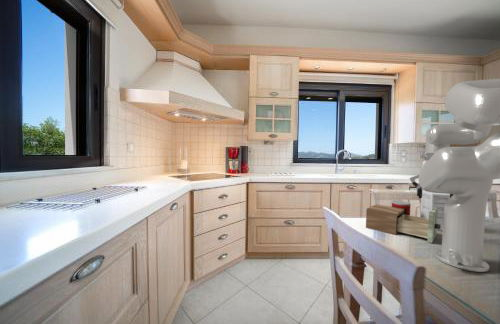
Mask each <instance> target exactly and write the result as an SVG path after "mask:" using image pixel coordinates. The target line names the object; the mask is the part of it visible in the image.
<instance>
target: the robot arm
mask: <svg viewBox="0 0 500 324" xmlns="http://www.w3.org/2000/svg"><path fill="white" fill-rule="evenodd" d="M444 107H445V109H446V111H447V112H448V113H449V114H450V115H452V116H453V120H454V122H455V123H448V124H446V123H445V124H443V123H441V124H440V123H439V124H435V125H433V126H431V127H430V128H428V129H426V132H425V151H424V154H421V155H420V159H423V161H422V162H421V166H420V173H419V174H417V175H414V176H412V177H410V178H409V180H410V182H411V183H412V185H413V186H414V187H415V188H416V196H417V197H418V199H421V198H422V191H428V192H432V193H445V194H450V199H449V200H448V201H447V202H446V204H445V206H444V217H443V231H442V234H441V235H442V236H441V249H439V250H436V251H435V252H434V255H435V258H436V259H438V260H439V261H441V262H443V263H444V264H447V265H449V266H450V267H451V266H452V267H454V268H458V269H460V270H465V271H468V272H477V273H485V272H489V270H490V265H489V264H488V263H487V262H486V261H485V260H483V256H484V243H485V242H484V241H485V239H484V238H485V226H486V225H485V224H486V214H487V211H486V210H487V205H488V199H489V195H490V192H491V190H492V188H493V187H492V186H493V181H494V180H497V179H499V178H500V131H498V132H496V133H494V134H492V135H490V136H489V137H488V135H489V134H490V131H491V130H492V127H494V126H500V78H491V79H478V80H467V81H466V80H465V81H462V82H458V83H456V84H455V85H454V86H451V88H450V89H449V90H448V92H447V94H446V96H445V99H444ZM486 137H488V138H486ZM485 138H486V140H484V142H482V143H481V144H479V145H475V146H451V145H473V144H475V143H478V142H480V141H481V140H483V139H485ZM417 179H418V183H417V182H416V180H417Z"/></svg>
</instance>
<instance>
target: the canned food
mask: <svg viewBox="0 0 500 324" xmlns="http://www.w3.org/2000/svg"><path fill="white" fill-rule="evenodd" d="M391 207H396V208H402V209H404V215H410V216H411V203H410V201H409V202H408V201H404V200H396V199H395V200H392V201H391Z"/></svg>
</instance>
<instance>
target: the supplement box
mask: <svg viewBox="0 0 500 324" xmlns="http://www.w3.org/2000/svg"><path fill="white" fill-rule="evenodd" d="M449 199H450V194H445V193H432V192H428V191H425V190H422V198H420V217H421V218H426V219H429V212H430V211H431V210H432V209H433V207H437V208H438V216H437V224H440V229H437V231H442V232H443V217H444V206H445V204H446V202H447V201H448V200H449Z"/></svg>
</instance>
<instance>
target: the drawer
mask: <svg viewBox="0 0 500 324" xmlns="http://www.w3.org/2000/svg"><path fill="white" fill-rule="evenodd" d="M437 216H438V208H437V207H433V209H432V210H431V211H430V212H429V219H426V218H421V217H419V216H415V215H411V214H410V215H404V214H403V215H402V216H401V217H399V218H398V219H397V231H398V233H403V234H407V235H411V236H416V237H420V238H424V239H427V241H426V242H428V243H433V242H434V240H435V238H436V236H437V231H438V230H437V229H440V224H437Z"/></svg>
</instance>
